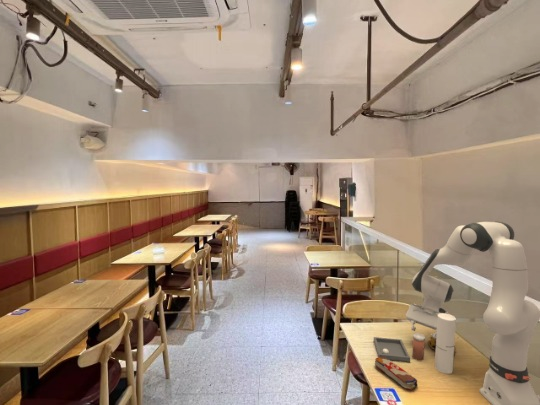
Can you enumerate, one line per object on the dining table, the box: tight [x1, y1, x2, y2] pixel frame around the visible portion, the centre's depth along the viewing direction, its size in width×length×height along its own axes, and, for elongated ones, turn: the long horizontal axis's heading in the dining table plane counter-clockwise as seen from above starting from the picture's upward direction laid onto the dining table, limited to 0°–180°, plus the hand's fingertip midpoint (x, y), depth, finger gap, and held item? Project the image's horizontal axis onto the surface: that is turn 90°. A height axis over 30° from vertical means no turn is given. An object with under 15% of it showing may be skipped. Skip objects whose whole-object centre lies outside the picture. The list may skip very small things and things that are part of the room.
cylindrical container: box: [434, 313, 457, 375], centre depth 136 cm, size 7×7×25 cm
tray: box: [373, 336, 411, 364], centre depth 150 cm, size 16×14×2 cm
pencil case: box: [374, 357, 418, 391], centre depth 131 cm, size 11×20×5 cm, turn 12°
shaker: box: [411, 332, 426, 362], centre depth 145 cm, size 5×5×11 cm
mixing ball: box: [382, 349, 389, 354], centre depth 147 cm, size 3×3×3 cm
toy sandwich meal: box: [427, 336, 457, 354], centre depth 154 cm, size 12×14×5 cm
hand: (422, 333), depth 148 cm, fingers open, 8 cm apart
